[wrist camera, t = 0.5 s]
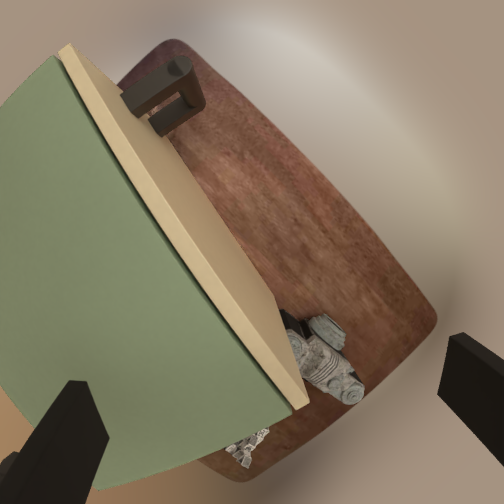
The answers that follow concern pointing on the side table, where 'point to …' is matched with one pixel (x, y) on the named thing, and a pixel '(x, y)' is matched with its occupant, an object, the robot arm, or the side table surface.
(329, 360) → the camera
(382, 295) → the side table surface
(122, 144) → the cupboard door
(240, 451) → the house of cards
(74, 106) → the cupboard
